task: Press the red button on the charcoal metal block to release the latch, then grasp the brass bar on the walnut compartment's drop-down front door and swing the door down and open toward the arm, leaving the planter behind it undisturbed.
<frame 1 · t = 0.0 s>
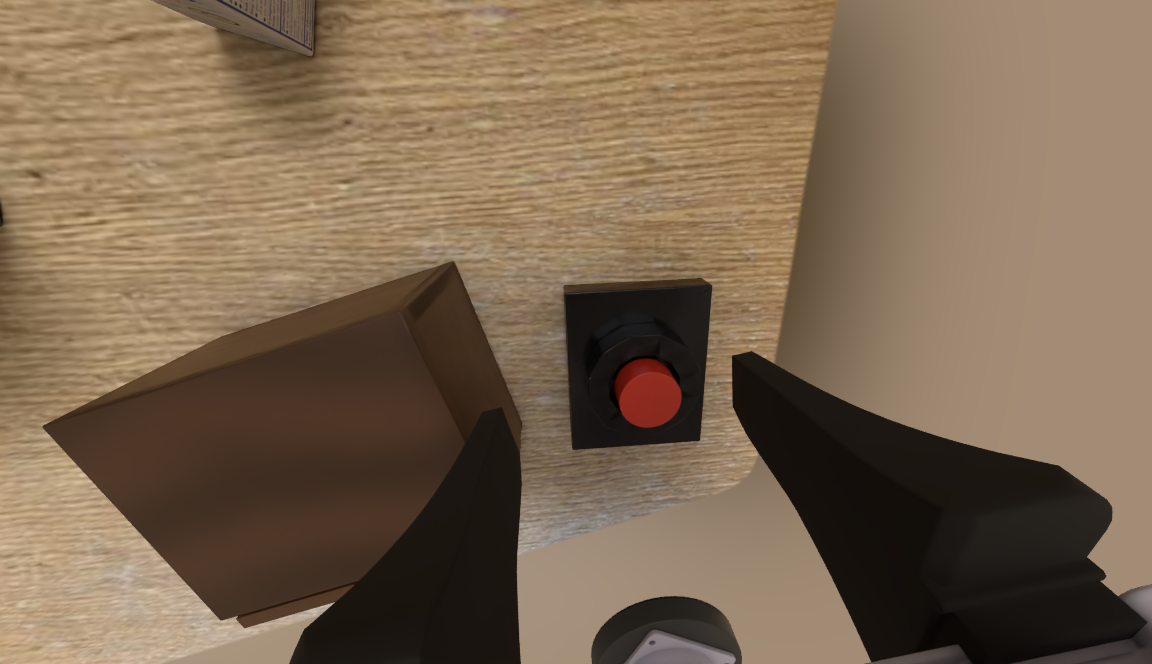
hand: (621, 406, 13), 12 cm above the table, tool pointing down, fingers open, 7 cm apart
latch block: (632, 360, 26), on the table
door: (421, 549, 24), point 5 cm above the table, hinge at 0.0°
compartment: (381, 383, 25), on the table
button: (646, 392, 22), point 4 cm above the table, slide at 0.1 cm
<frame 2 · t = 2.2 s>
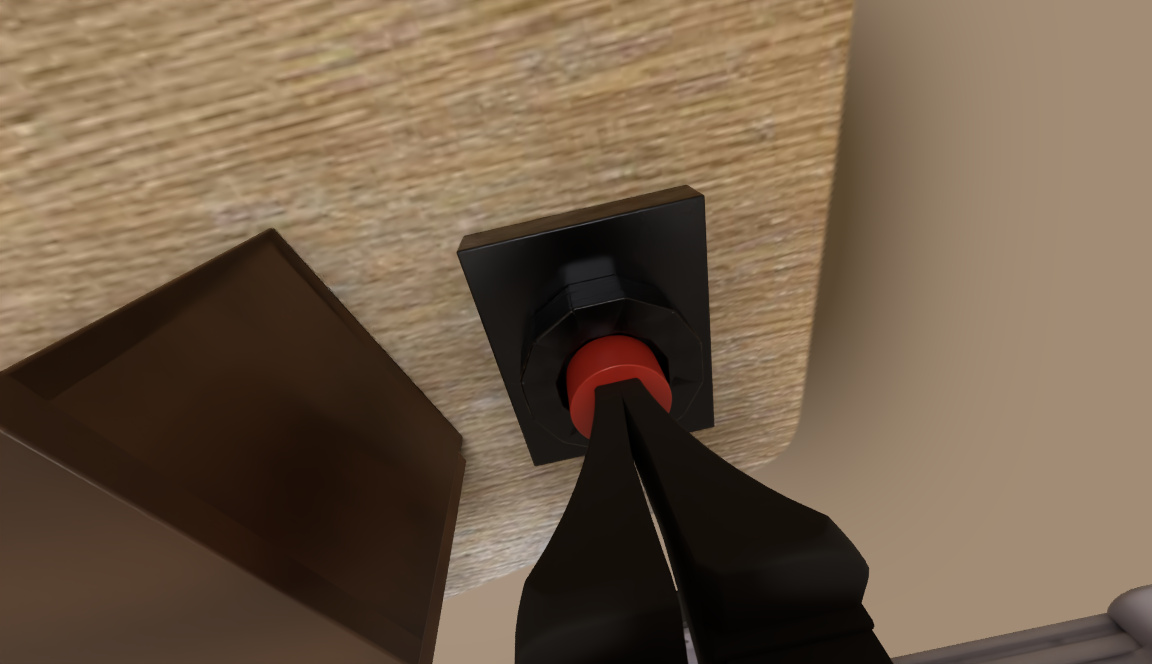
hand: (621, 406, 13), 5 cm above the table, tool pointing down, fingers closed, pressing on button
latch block: (599, 330, 17), on the table
door: (352, 627, 18), point 5 cm above the table, hinge at 0.0°
compartment: (245, 419, 18), on the table
button: (616, 390, 14), point 4 cm above the table, slide at 0.0 cm, touching gripper
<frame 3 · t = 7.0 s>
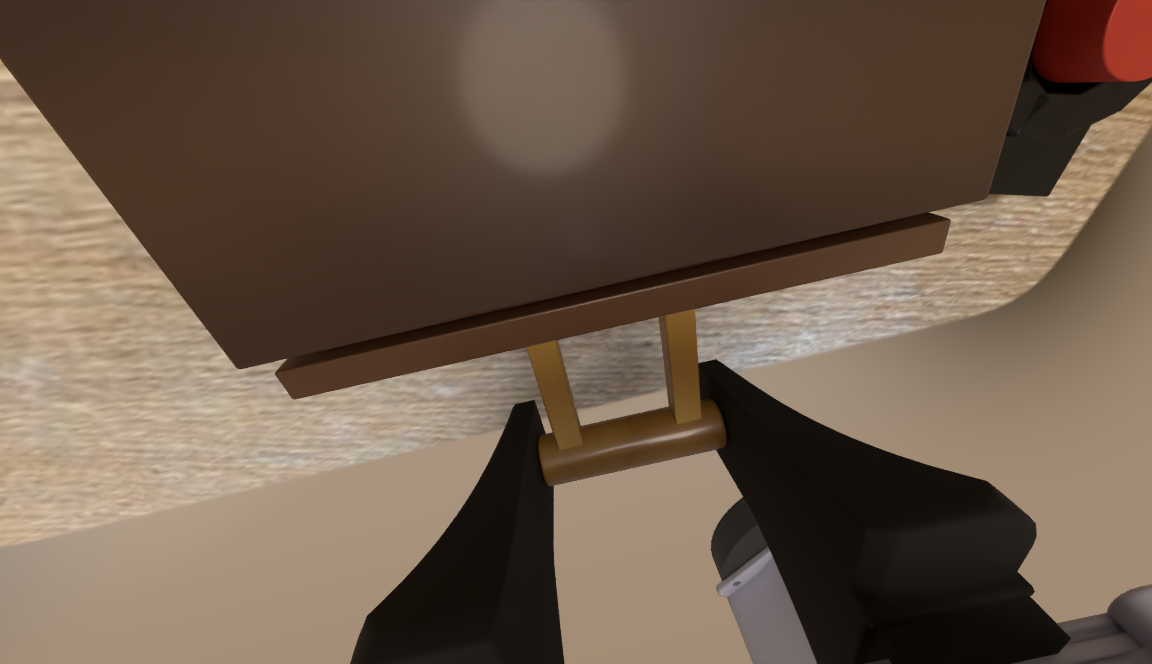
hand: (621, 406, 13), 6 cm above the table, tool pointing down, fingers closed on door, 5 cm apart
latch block: (984, 28, 14), on the table
door: (601, 323, 13), point 5 cm above the table, hinge at 0.0°, touching gripper
compartment: (529, 1, 13), on the table
button: (1131, 9, 11), point 4 cm above the table, slide at 0.1 cm
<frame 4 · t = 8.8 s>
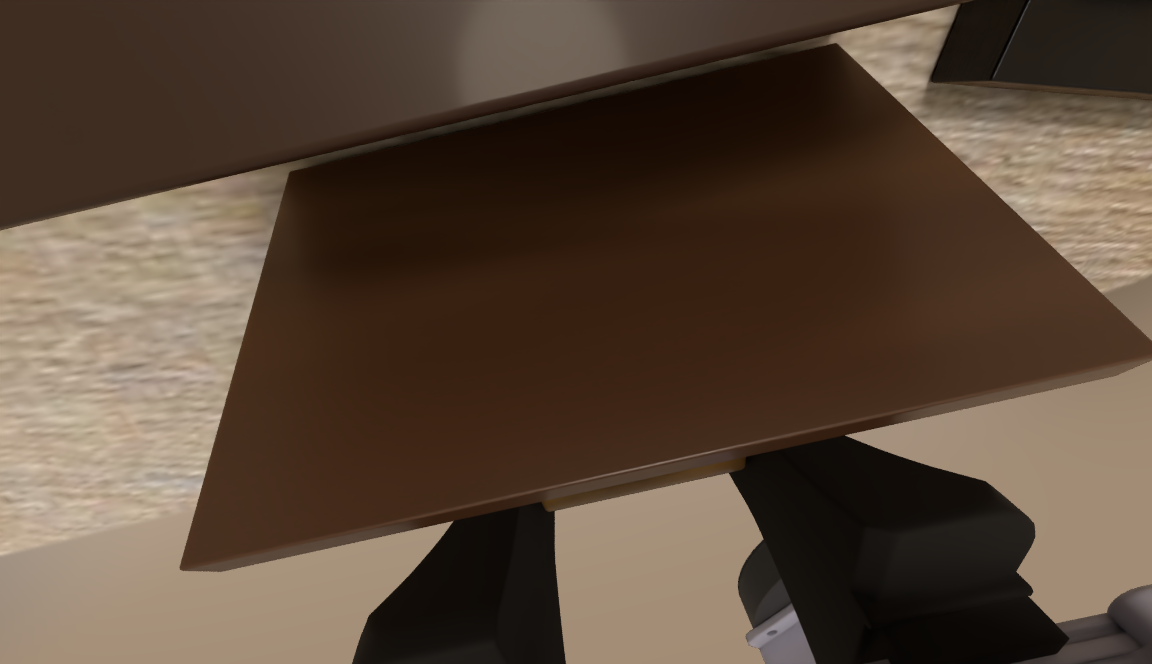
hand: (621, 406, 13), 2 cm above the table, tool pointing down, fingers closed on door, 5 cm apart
door: (606, 320, 10), point 3 cm above the table, hinge at 28.3°, touching gripper
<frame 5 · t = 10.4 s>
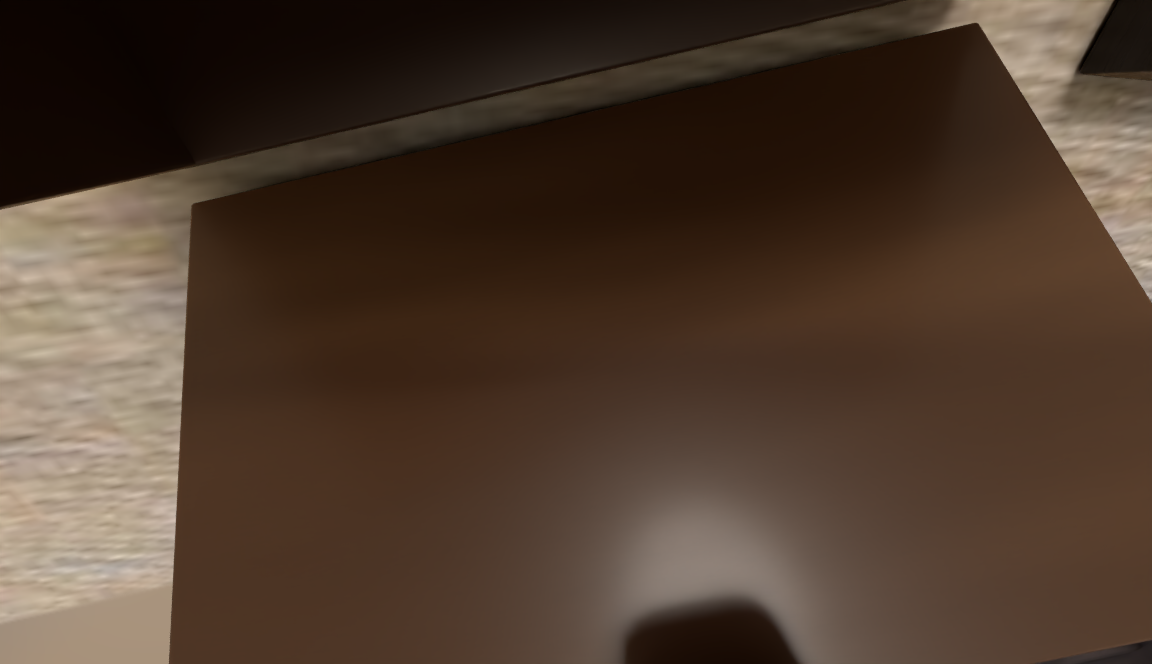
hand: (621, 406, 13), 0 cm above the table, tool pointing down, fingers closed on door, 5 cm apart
door: (629, 387, 9), point 2 cm above the table, hinge at 44.2°, touching gripper
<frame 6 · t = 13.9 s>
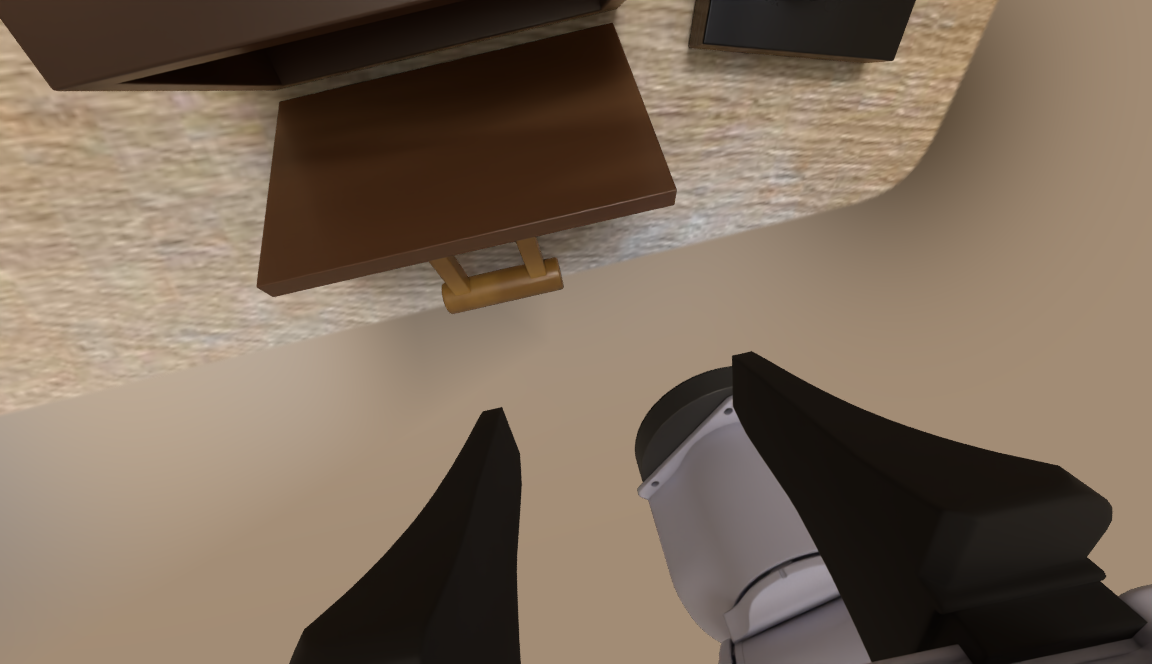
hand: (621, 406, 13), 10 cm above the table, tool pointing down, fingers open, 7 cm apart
door: (480, 198, 17), point 2 cm above the table, hinge at 36.1°
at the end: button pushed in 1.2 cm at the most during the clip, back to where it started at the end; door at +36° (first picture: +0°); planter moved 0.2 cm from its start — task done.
